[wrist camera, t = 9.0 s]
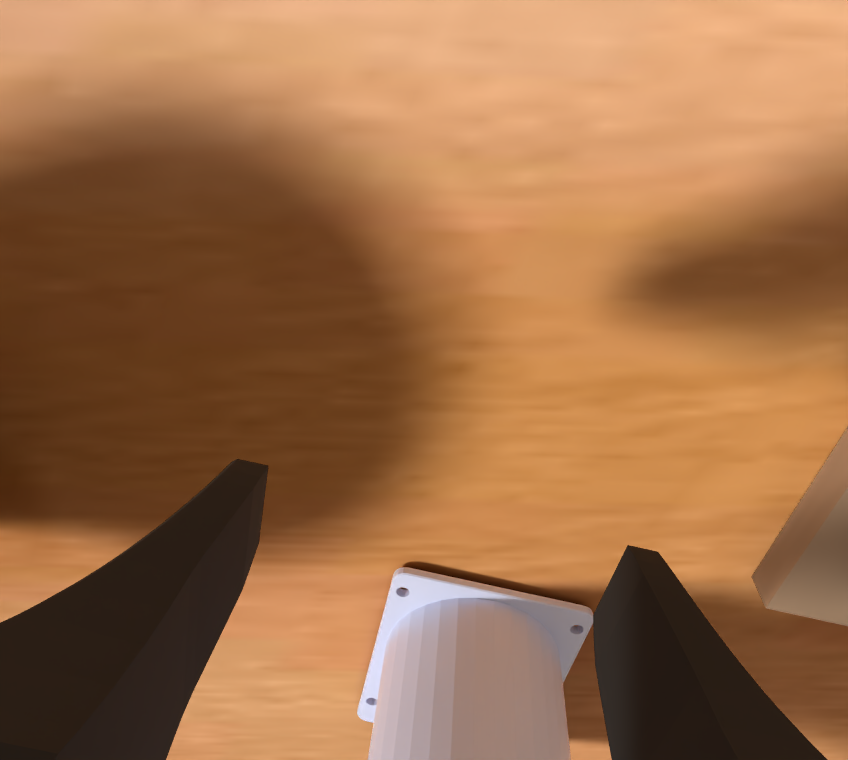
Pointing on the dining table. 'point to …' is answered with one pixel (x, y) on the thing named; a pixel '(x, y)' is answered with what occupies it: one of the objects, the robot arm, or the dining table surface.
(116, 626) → the robot arm
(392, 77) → the dining table surface
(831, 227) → the dining table surface
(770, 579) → the ledge board
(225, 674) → the dining table surface
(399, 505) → the dining table surface
